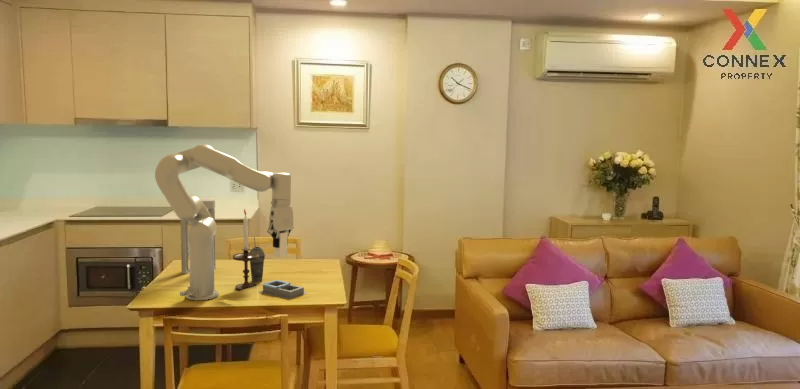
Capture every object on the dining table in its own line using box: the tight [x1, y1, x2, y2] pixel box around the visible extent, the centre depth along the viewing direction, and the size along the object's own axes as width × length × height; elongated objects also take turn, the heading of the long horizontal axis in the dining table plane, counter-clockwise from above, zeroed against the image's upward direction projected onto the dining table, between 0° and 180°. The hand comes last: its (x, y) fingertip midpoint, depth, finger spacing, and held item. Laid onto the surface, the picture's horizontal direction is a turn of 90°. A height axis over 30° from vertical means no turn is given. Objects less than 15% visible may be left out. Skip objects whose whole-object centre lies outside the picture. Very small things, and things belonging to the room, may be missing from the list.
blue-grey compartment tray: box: [259, 279, 309, 300], centre depth 239 cm, size 12×17×4 cm
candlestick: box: [232, 208, 259, 291], centre depth 246 cm, size 11×11×35 cm
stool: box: [179, 196, 217, 275], centre depth 272 cm, size 16×16×35 cm
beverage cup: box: [248, 236, 266, 283], centre depth 259 cm, size 7×7×20 cm
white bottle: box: [272, 231, 289, 258], centre depth 237 cm, size 4×4×12 cm
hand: (280, 246), depth 237 cm, fingers closed on white bottle, 4 cm apart
